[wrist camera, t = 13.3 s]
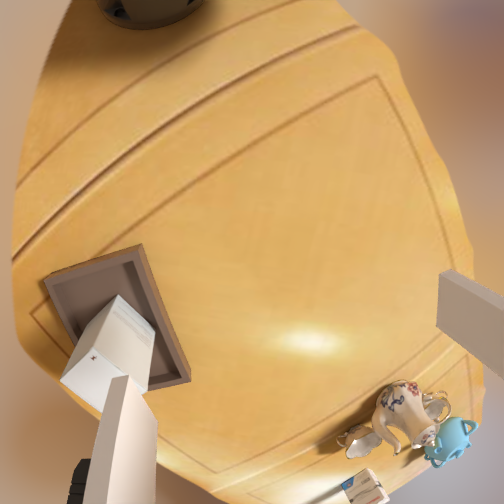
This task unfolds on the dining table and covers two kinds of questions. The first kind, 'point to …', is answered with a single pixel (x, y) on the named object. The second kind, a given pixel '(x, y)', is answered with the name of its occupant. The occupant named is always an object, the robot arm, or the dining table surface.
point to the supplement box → (110, 353)
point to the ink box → (365, 489)
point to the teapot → (450, 440)
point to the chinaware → (399, 420)
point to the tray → (133, 292)
